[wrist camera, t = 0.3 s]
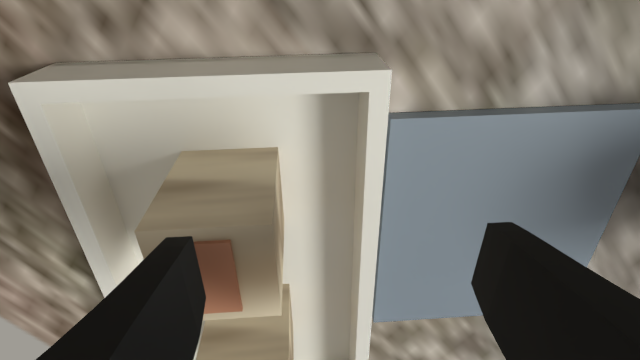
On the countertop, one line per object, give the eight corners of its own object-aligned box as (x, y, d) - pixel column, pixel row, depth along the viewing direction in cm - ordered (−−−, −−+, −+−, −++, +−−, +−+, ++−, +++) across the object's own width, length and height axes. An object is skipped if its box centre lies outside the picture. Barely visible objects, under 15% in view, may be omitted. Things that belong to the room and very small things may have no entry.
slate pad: (559, 300, 25) (566, 309, 25) (371, 312, 25) (373, 322, 24) (648, 102, 18) (661, 108, 17) (387, 113, 18) (390, 119, 17)
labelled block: (284, 223, 20) (281, 318, 14) (199, 227, 20) (164, 326, 14) (278, 147, 17) (271, 227, 12) (181, 151, 17) (132, 234, 12)
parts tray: (358, 357, 27) (365, 398, 24) (170, 370, 26) (157, 414, 24) (376, 52, 16) (392, 69, 14) (55, 62, 15) (7, 82, 13)
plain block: (293, 332, 24) (293, 432, 19) (224, 337, 24) (205, 439, 19) (289, 283, 22) (288, 381, 17) (213, 288, 22) (188, 389, 17)
